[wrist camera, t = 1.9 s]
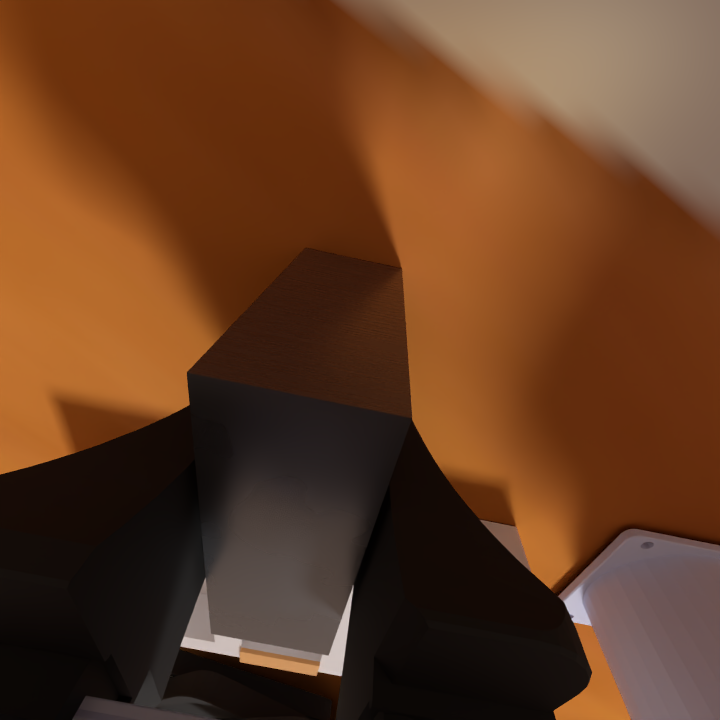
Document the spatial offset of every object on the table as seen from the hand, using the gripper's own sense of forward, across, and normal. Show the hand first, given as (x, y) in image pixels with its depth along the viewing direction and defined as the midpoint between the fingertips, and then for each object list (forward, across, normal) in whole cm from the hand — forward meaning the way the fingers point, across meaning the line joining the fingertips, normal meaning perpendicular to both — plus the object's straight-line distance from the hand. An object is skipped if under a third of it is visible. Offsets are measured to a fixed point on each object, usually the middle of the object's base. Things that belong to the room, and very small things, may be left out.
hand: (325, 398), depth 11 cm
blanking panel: (+2, 0, 0) cm, 2 cm away
